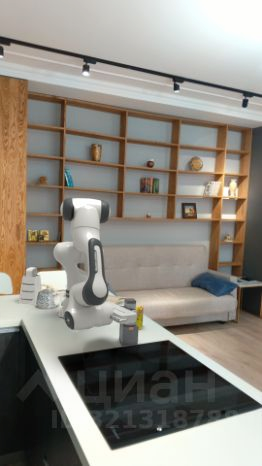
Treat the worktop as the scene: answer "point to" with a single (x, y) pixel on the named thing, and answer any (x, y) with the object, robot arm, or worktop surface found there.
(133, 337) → the base
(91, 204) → the robot arm
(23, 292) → the grater
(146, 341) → the worktop surface
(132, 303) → the jack column
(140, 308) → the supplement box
